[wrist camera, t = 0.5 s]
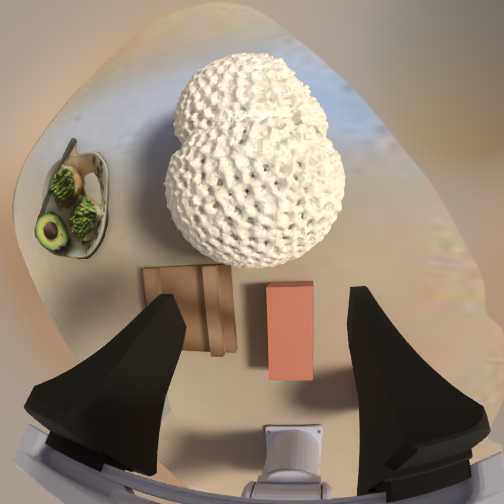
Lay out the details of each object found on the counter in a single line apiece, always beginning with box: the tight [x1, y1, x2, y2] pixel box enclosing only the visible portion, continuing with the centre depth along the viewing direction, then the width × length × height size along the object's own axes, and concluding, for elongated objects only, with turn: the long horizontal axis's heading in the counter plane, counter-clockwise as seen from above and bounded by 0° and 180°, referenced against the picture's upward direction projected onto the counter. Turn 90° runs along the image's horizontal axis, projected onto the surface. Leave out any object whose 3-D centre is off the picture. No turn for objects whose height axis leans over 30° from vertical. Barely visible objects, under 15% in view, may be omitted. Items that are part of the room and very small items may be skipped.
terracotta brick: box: [266, 281, 314, 380], centre depth 32 cm, size 11×5×4 cm, turn 3°
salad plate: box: [35, 138, 109, 259], centre depth 37 cm, size 19×18×5 cm
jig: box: [141, 264, 238, 357], centre depth 35 cm, size 11×12×2 cm
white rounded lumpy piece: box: [163, 53, 345, 269], centre depth 26 cm, size 20×18×16 cm
